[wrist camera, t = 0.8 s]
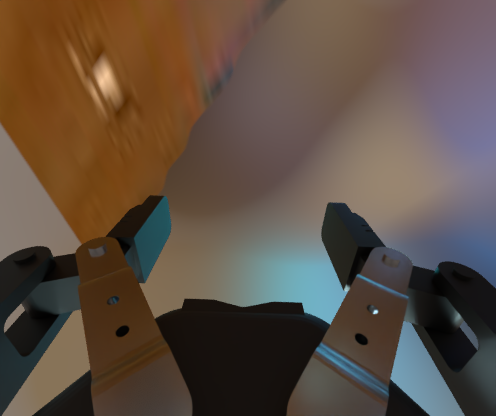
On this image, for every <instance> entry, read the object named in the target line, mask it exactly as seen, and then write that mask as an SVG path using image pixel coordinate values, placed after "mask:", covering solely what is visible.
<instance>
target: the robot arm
mask: <svg viewBox="0 0 496 416" xmlns="http://www.w3.org/2000/svg"><path fill="white" fill-rule="evenodd" d="M170 232H171V219H170V212H169V205H168V199H167V197H166V196H153V195H150V196H149V197H148V198H147V199H146V200H145V202H144V203H143V204H142V205H137V206H135V207H134V208H132V209H130V210H129V211H128V212H127V213H126V214H125V216H124V217H123V218H122V219H121V220H120V222H118V223H117V224H116V226H115V227H114V228H113V229H112V230H111V231H110V232H109V233H108V234H107V235H106V237H100V238H95V239H92V240H90V241H87V242H85V243H84V244H82V245H81V246H80V247H79V248H78V249H77V250H76V253H75V254H68V255H62V256H56V257H53V255H52V253H51V251H50V249H49V248H47V247H44V246H35V247H30V248H26V249H22V250H20V251H17V252H15V253H13V254H11V255H9V256H8V257H6V258H5V259H3V261H1V262H0V416H2V414H3V412H4V411H5V410H6V408H7V407H8V405H9V404H10V402H11V401H12V399H13V398H14V396H15V395H16V394H17V392H18V391H19V389H20V388H21V386H22V385H23V383H24V382H25V380H26V379H27V378H28V376H29V375H30V373H31V372H32V370H33V369H34V367H35V366H36V364H37V363H38V361H39V360H40V359H41V357H42V356H43V354H44V353H45V351H46V350H47V348H48V347H49V345H50V344H51V342H52V341H53V340H54V338H55V337H56V335H57V334H58V332H59V331H60V329H61V328H62V326H63V325H64V323H65V322H66V320H67V319H68V318H69V316H70V315H71V313H72V312H73V311H75V310H79V309H81V313H82V318H83V325H84V331H85V337H86V344H87V350H88V356H89V363H90V370H89V371H88V372H86V373H85V374H84V375H83V376H82V377H80V378H79V379H78V380H77V381H75V382H74V383H73V384H71V385H70V386H69V387H68V388H66V389H65V390H64V391H63V392H61V393H60V394H59V395H58V396H56V397H55V398H54V399H53V400H51V401H50V402H49V403H48V404H46V405H45V406H44V407H42V408H41V409H40V410H39V411H37V412H36V413H35V414H34V415H32V416H430V415H429V414H427V413H426V412H425V411H424V410H423V409H422V408H421V407H420V406H419V405H418V404H417V403H416V402H414V401H413V400H412V399H411V398H410V397H409V396H408V395H407V394H406V393H405V392H403V391H402V390H401V389H400V388H399V387H398V386H397V385H396V384H395V383H394V382H393V381H392V380H391V379H390V377H391V373H392V368H393V364H394V360H395V355H396V351H397V347H398V343H399V338H400V334H401V329H402V326H403V321H406V322H410V323H412V325H413V327H414V329H415V330H416V332H417V334H418V336H419V337H420V339H421V340H422V342H423V344H424V346H425V348H426V349H427V351H428V352H429V355H430V356H431V358H432V360H433V361H434V363H435V365H436V367H437V368H438V370H439V372H440V374H441V375H442V377H443V378H444V380H445V382H446V384H447V385H448V387H449V389H450V391H451V392H452V394H453V396H454V398H455V399H456V401H457V403H458V405H459V406H460V408H461V409H462V411H463V413H464V415H465V416H496V288H495V287H493V286H492V285H491V284H490V283H489V282H488V281H487V280H486V279H485V278H484V277H483V276H482V275H480V274H479V273H478V272H476V271H475V270H473V269H471V268H469V267H467V266H464V265H462V264H459V263H455V262H441V263H439V265H438V266H437V268H436V270H435V271H433V270H429V269H425V268H420V267H416V266H413V263H412V261H411V260H410V259H409V258H408V257H407V256H406V255H405V254H403V253H402V252H400V251H398V250H395V249H392V248H388V247H386V246H385V245H384V244H383V243H382V241H381V240H380V239H379V238H378V236H377V235H376V234H375V232H373V230H372V228H371V227H370V226H369V225H368V223H367V222H366V221H365V220H364V219H363V218H362V217H360V216H359V215H357V214H356V213H352V212H351V210H350V209H349V208H348V206H347V205H346V204H345V203H331V202H330V203H328V205H327V208H326V213H325V217H324V221H323V226H322V233H321V234H322V235H321V236H322V241H323V243H324V246H325V248H326V250H327V253H328V255H329V257H330V260H331V262H332V264H333V267H334V269H335V271H336V273H337V276H338V278H339V281H340V283H341V285H342V288H343V290H344V291H348V293H347V295H346V296H345V298H344V300H343V302H342V304H341V306H340V308H339V310H338V312H337V313H336V315H335V317H334V319H333V321H332V323H331V325H330V324H328V323H327V322H325V321H323V320H322V319H320V318H318V317H316V316H313V315H310V314H308V313H304V309H303V305H302V303H294V302H269V303H264V304H259V305H254V306H248V307H239V306H236V305H232V304H227V303H224V302H220V301H217V300H208V299H185V300H184V303H183V306H182V308H181V309H177V310H173V311H170V312H168V313H165V314H163V315H161V316H159V317H157V318H156V319H154V316H153V314H152V312H151V310H150V307H149V305H148V303H147V301H146V298H145V296H144V294H143V292H142V289H141V287H140V285H139V283H145V282H146V280H147V278H148V276H149V274H150V272H151V270H152V268H153V266H154V264H155V262H156V260H157V259H158V257H159V254H160V253H161V251H162V249H163V247H164V245H165V243H166V241H167V239H168V237H169V235H170ZM20 304H22V305H23V307H24V309H25V311H24V312H23V313H22V314H21V315H20V316H19V318H18V319H17V320H16V321H15V322H14V323H13V324H12V325H11V327H10V328H9V329H8V330H7V331H6V332H5V333H4V324H5V322H6V320H7V318H8V317H9V316H10V314H11V313H12V312H13V311H14V310H15V309H16V308H17V307H18V306H19V305H20ZM463 321H465V322H466V323H467V324H468V326H469V327H470V328H471V329H472V331H473V332H474V333H475V335H476V337H477V339H478V344H479V347H478V351H477V349H476V348H475V347H474V346H473V344H472V343H471V342H470V340H469V339H468V338H467V336H466V335H465V334H464V332H463V331H462V330H461V328H460V325H461V324H462V322H463Z"/></svg>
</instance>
